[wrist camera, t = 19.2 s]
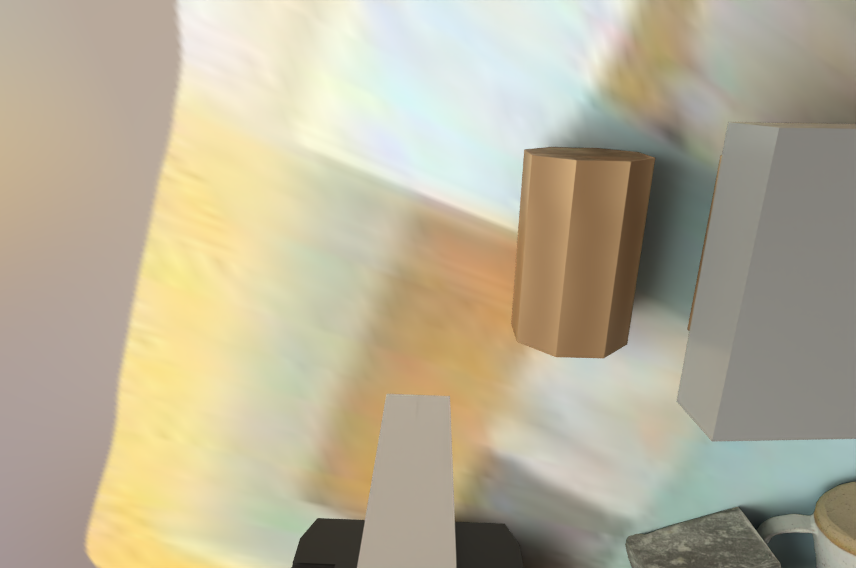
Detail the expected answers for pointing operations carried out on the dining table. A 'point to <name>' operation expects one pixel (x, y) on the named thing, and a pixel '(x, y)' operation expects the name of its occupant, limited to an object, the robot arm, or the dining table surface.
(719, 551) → the stone block
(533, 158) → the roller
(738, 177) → the slab
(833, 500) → the ceramic mug
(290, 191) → the dining table surface
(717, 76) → the dining table surface
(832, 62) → the dining table surface
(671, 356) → the dining table surface
